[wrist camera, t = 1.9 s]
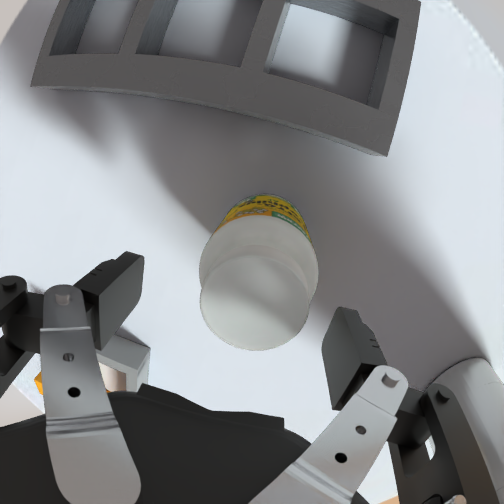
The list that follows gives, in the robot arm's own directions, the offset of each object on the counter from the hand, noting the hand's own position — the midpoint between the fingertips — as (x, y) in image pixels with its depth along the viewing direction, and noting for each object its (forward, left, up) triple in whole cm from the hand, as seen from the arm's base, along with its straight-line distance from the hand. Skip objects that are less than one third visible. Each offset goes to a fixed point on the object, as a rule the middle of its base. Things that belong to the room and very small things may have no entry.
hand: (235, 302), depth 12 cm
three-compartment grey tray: (+6, -13, -9) cm, 17 cm away
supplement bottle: (-1, -1, -9) cm, 9 cm away
